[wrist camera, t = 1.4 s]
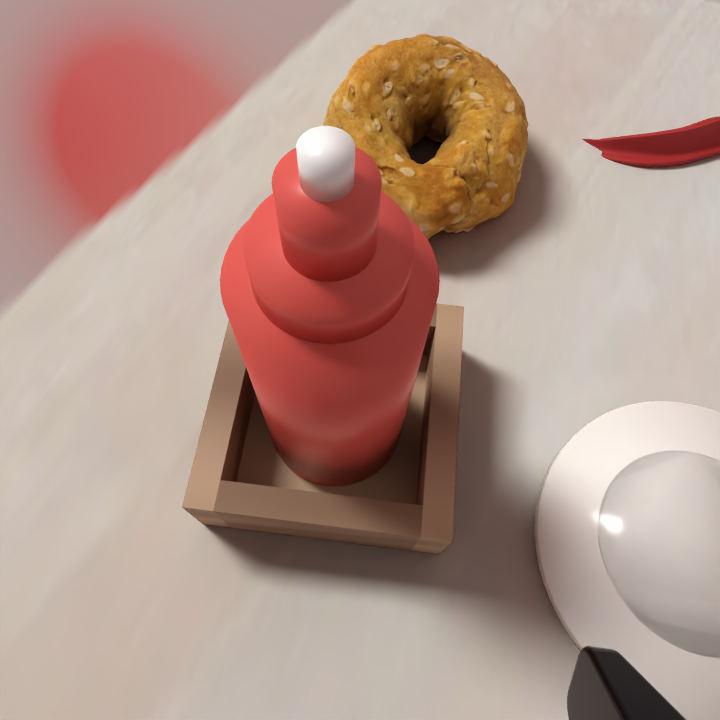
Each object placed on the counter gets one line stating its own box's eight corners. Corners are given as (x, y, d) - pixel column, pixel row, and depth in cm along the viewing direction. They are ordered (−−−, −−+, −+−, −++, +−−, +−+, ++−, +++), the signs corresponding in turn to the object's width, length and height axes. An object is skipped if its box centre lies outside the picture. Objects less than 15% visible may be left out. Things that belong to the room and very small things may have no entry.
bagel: (269, 199, 28) (257, 119, 24) (391, 74, 32) (401, -14, 28) (447, 302, 26) (469, 234, 22) (553, 153, 30) (590, 72, 26)
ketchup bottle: (427, 438, 22) (533, 180, 10) (315, 513, 21) (272, 325, 8) (353, 341, 24) (364, 16, 11) (246, 404, 22) (126, 115, 10)
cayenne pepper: (802, 141, 31) (829, 112, 29) (812, 207, 29) (841, 179, 27) (576, 100, 32) (590, 69, 30) (570, 161, 30) (584, 131, 28)
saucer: (907, 593, 21) (927, 591, 20) (699, 810, 18) (714, 817, 17) (675, 361, 24) (685, 352, 24) (473, 508, 22) (477, 504, 21)
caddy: (438, 554, 21) (452, 541, 18) (202, 524, 21) (182, 507, 18) (450, 343, 25) (464, 306, 22) (250, 319, 25) (238, 280, 22)
